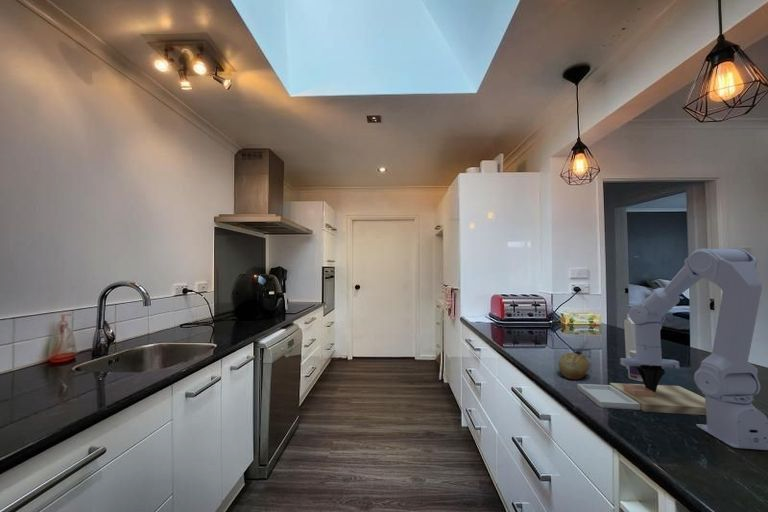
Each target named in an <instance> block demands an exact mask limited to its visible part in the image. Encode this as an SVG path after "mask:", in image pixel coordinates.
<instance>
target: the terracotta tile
mask: <svg viewBox="0 0 768 512" xmlns="http://www.w3.org/2000/svg"><path fill="white" fill-rule="evenodd" d="M628 384H629V383H623V385H624V390H625V391H627V392H629V393H630V394H632V395H633V396H641V397H654V394H653V391H651V390H650V389H648V388H646V387H644V386H642V385H628Z"/></svg>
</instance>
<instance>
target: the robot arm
mask: <svg viewBox="0 0 768 512" xmlns="http://www.w3.org/2000/svg"><path fill="white" fill-rule="evenodd" d="M758 261H759V260H758V259H757V258H756V257H755V256H754V255H752V254H751V253H749V252H748V251H747V250H745V249H742V248H739V247H738V248H737V247H735V248H697V249H695V250H693V251H692V252H691V253H690V255H689V256H688V257H686V258H685V259H684V262H683V263H684V265H683V267H682V268H681V269H680V270H679V271H678V272H677V273H676V275H675V276H674V277H673V278H672V279H671V280H670V281H669V282H668V283H667V284H666V286H665V287H658V288H654V289H652V290H651V294H649V295H648V297H646V299H643V300H642V301H641V303H639V304H633V305H631V306H630V308H629V311H628V314H629V316H630V319H631V320H632V321H633V322H634V323H635V338H636V355H637V357H634V358H626V357H621V358H620V359H619V360H620V361H619V362H620V365H621V366H623V367H626V366H635V367H636V369H637V370H638V372H639V374H640V375H641V377H642V379H643V382H642V383H643V384H644V385H645V387H646V388H648V389H650V390H651V391H653V392H656V389H657V386H658V385H659V384H660V380H661V379H662V377H663V376H664V374H665V373H666V370H665V369H664V368H675V369H680V361H678V360H676V359H665V358H663V357H662V355H663V354H662V340H661V330H662V329H663V323H664V322H665V320H666V314H668V312H670V311H671V310H672V309H673V308H674V307H676V306H677V305H678V304H679V303H680V296H681V295H682V294H683V293H684V292H686V291H688V289H690V288H691V287H692V286H694V285H695V284H697V282H699V281H700V280H702V279H706V280H707V281H709V282H711V283H713V284H715V285H716V286H717V287H719V288H720V289H721V291H722V293H721V301H720V305H719V312H718V317H717V324H716V328H715V333H714V341H713V346H712V351H711V353H710V354H709V355H708V356H707V357H705V358H704V359H702V361H701V362H700V366H699V368H698V369H696V370H695V373H694V375H693V378H694V383H695V385H696V386H697V388H698V389H699V390H700V391H701V394H702V395H704V398H705V404H706V415H705V417H706V424H702V423H700V424H698V423H696V427H697V428H699V429H700V430H702V431H704V432H705V433H708V434H709V435H711V436H713V437H714V438H716V439H718V440H720V441H721V442H723V443H725V444H726V445H728V446H730V447H731V448H735V449H746V450H748V449H750V450H761V451H768V417H767V415H766V414H764V412H762V411H761V410H759V409H758V408H756V407H755V406H754V405H753V403H752V401H754V396H756V395H758V394H759V393H760V391H761V384H760V380H759V378H758V374H759V373H758V372H759V369H758V368H757V367H756V366H754V365H753V364H752V363H750V362H749V358H750V357H749V356H750V351H751V346H752V342H753V337H754V331H755V326H756V322H757V317H758V311H759V305H760V300H761V296H762V290H763V286H762V285H763V284H762V281H761V279H760V276H759V274H758V272H757V268H758V267H757V266H758Z"/></svg>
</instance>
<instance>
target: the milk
mask: <svg viewBox="0 0 768 512" xmlns="http://www.w3.org/2000/svg"><path fill="white" fill-rule="evenodd" d="M623 327H624V343H625V344H624V345H625V347H624V348H625V358H628V357H630V354H629V351H636V338H635V323H634V322H633V321H632V320H631V319H630V316H629V313H627V314H626V318H625V319H624V321H623ZM625 367H626V369H627V370H628V366H625Z"/></svg>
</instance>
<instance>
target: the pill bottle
mask: <svg viewBox="0 0 768 512" xmlns="http://www.w3.org/2000/svg"><path fill="white" fill-rule="evenodd" d="M629 354H630V357H628V358H634V357H637V355H636V351H629ZM627 376H628V379H630V380H631V381H635V382H640V383H641V382H642V383H644V382H643V379H642V377H641V375H640V374H639V372H638V370H637V369H636V367H635V366H628V369H627Z"/></svg>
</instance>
